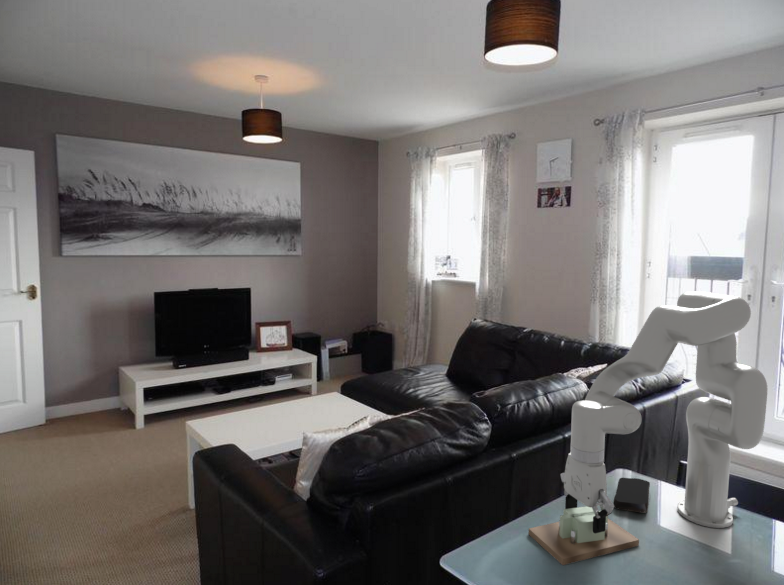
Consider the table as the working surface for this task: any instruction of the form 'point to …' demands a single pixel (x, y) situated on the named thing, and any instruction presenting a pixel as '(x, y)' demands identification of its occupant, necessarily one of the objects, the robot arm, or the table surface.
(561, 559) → the pin plate
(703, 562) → the table surface
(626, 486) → the black sponge
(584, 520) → the green grooved block
